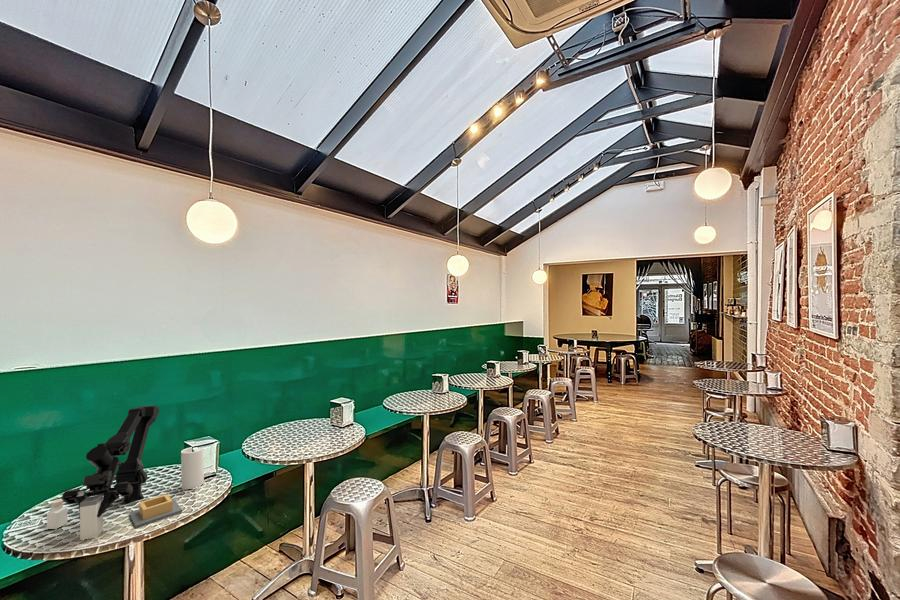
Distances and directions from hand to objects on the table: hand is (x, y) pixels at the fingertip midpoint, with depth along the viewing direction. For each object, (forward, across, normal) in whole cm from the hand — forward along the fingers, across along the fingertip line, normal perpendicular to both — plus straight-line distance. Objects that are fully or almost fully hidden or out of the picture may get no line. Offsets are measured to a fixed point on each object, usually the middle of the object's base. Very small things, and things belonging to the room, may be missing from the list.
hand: (89, 518), depth 132 cm
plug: (+4, 0, +6) cm, 7 cm away
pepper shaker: (-5, -16, +14) cm, 22 cm away
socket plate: (-3, +15, +12) cm, 20 cm away
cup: (-19, +22, +28) cm, 40 cm away
